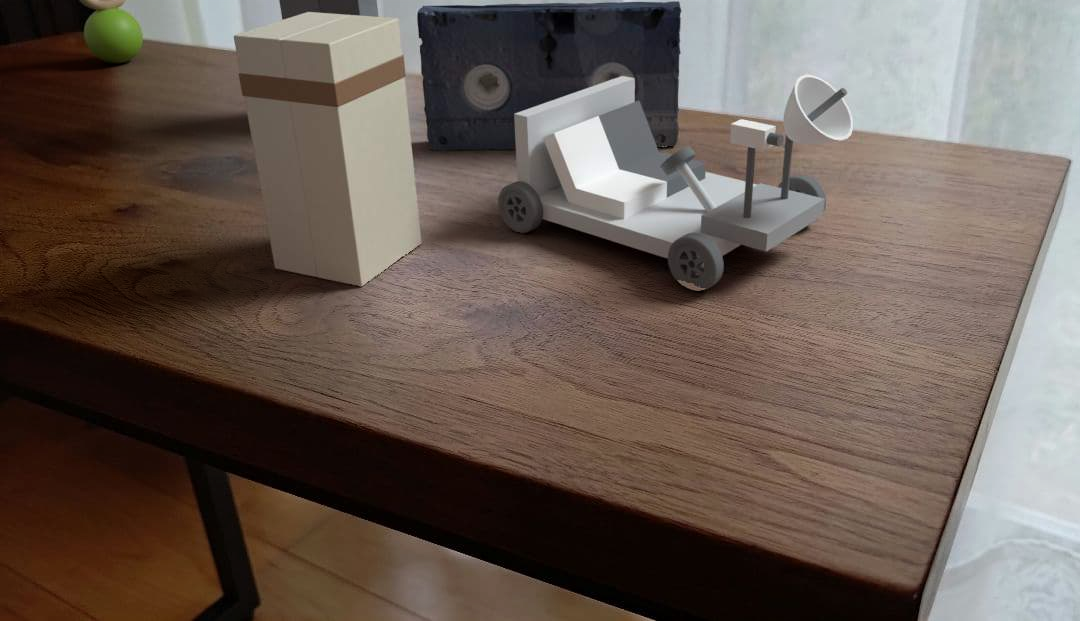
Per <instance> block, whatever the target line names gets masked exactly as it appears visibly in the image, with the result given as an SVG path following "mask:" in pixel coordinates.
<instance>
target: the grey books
mask: <svg viewBox="0 0 1080 621" xmlns="http://www.w3.org/2000/svg"><path fill="white" fill-rule="evenodd" d="M278 2H279V8H280V14H281V20H284V19H287V18H291V17H294V16H297V15H300V14H303V13H306V12H316V13H330V14H344V15H351V16H352V15H358V16H372V17H379V9H378V0H278Z"/></svg>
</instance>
